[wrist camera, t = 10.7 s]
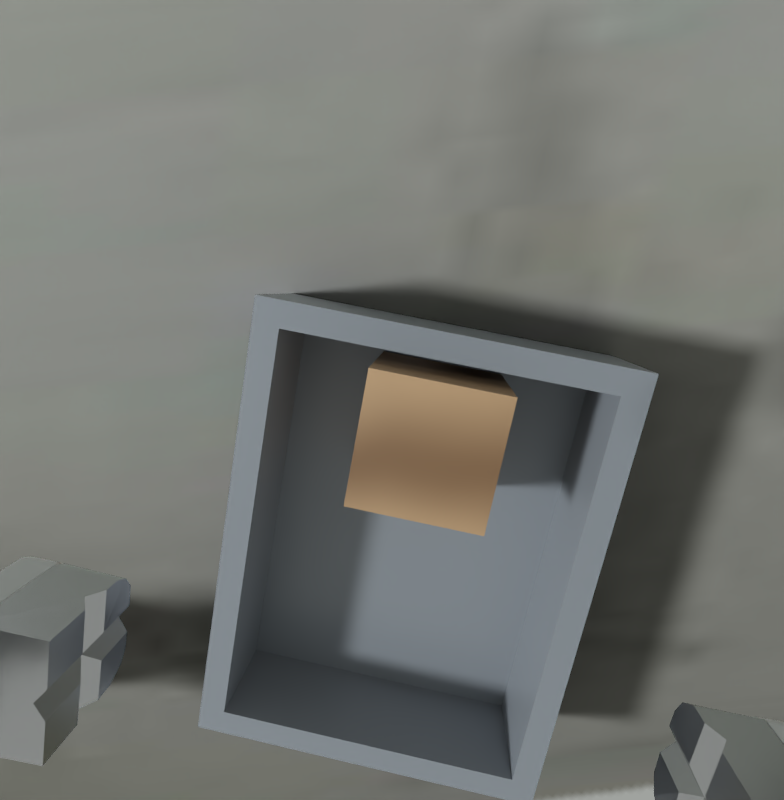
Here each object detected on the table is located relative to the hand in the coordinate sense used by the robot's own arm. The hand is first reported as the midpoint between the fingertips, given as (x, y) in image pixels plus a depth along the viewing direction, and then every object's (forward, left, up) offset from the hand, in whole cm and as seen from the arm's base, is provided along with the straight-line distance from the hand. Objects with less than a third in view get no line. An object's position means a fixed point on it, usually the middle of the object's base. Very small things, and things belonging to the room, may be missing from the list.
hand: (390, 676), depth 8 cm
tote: (+5, 0, -17) cm, 18 cm away
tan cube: (0, 0, -16) cm, 16 cm away
